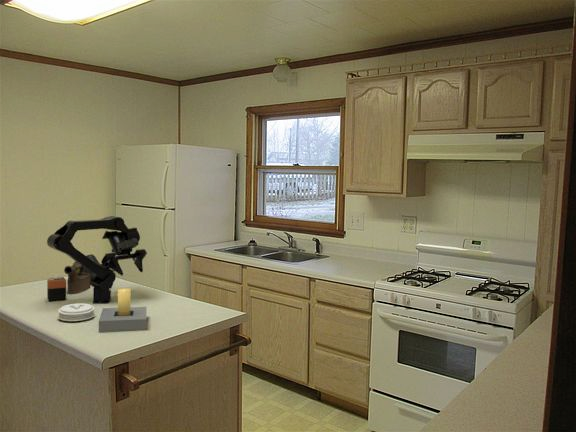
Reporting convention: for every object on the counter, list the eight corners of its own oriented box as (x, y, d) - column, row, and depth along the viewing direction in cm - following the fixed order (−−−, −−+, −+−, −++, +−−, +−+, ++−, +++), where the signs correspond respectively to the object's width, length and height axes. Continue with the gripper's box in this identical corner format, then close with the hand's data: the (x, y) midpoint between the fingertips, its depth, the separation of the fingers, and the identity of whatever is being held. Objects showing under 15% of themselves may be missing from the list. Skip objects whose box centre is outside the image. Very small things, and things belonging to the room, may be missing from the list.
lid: (58, 315, 189) (58, 302, 188) (93, 312, 194) (93, 300, 193) (58, 325, 177) (58, 311, 177) (95, 321, 182) (95, 308, 182)
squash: (59, 272, 237) (75, 251, 232) (83, 268, 250) (98, 248, 246) (74, 294, 233) (91, 273, 228) (98, 289, 247) (114, 269, 242)
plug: (117, 323, 178) (117, 291, 177) (117, 319, 182) (118, 288, 181) (129, 322, 179) (130, 290, 178) (130, 319, 183) (130, 287, 182)
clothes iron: (58, 295, 215) (58, 265, 214) (74, 287, 231) (74, 259, 230) (76, 296, 215) (76, 266, 214) (90, 287, 231) (90, 259, 230)
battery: (66, 300, 208) (66, 277, 207) (48, 302, 204) (48, 278, 203) (64, 298, 212) (64, 275, 211) (47, 299, 208) (47, 276, 207)
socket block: (98, 332, 171) (98, 321, 170) (102, 318, 186) (102, 308, 185) (146, 329, 175) (146, 319, 175) (146, 316, 190) (146, 306, 190)
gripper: (104, 234, 198) (119, 265, 192) (144, 230, 213) (159, 259, 207) (95, 250, 204) (109, 281, 198) (134, 246, 218) (148, 274, 212)
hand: (132, 273), depth 204 cm, fingers open, 9 cm apart
